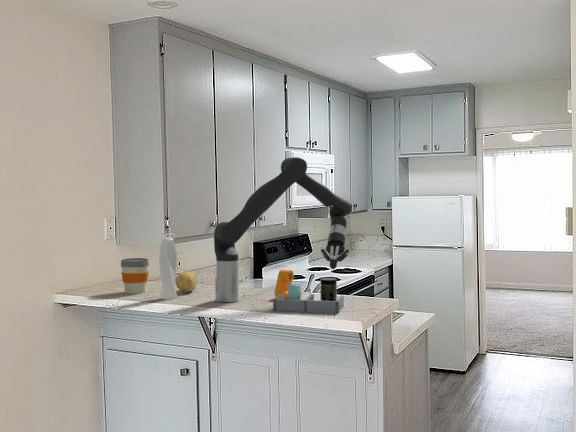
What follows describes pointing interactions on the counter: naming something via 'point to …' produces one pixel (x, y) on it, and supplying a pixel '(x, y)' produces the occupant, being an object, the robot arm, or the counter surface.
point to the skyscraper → (168, 267)
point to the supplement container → (328, 289)
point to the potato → (186, 281)
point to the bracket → (283, 282)
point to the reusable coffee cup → (134, 275)
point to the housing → (305, 302)
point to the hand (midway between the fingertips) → (332, 267)
